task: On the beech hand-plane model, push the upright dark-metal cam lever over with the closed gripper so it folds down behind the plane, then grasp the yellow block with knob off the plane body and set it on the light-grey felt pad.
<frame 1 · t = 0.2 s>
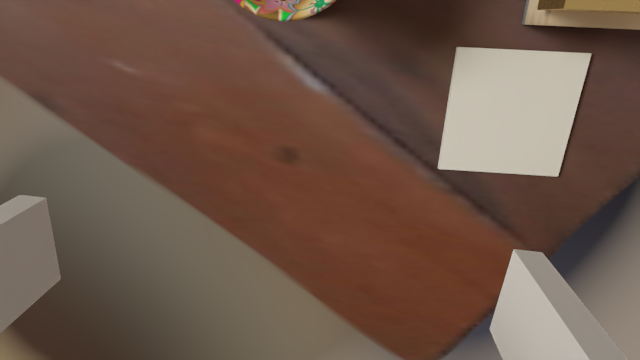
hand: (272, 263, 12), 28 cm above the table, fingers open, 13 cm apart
felt pad: (508, 113, 37), on the table
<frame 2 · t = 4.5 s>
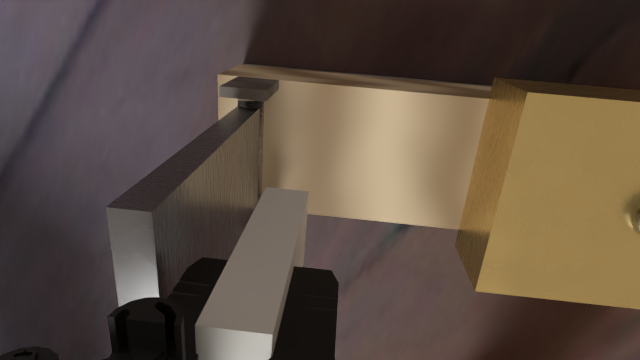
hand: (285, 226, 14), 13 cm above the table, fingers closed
plane body: (434, 138, 25), on the table
yellow block with knob: (574, 178, 20), point 5 cm above the table, touching plane body
lever: (216, 201, 15), point 12 cm above the table, hinge at 0.1°, touching gripper
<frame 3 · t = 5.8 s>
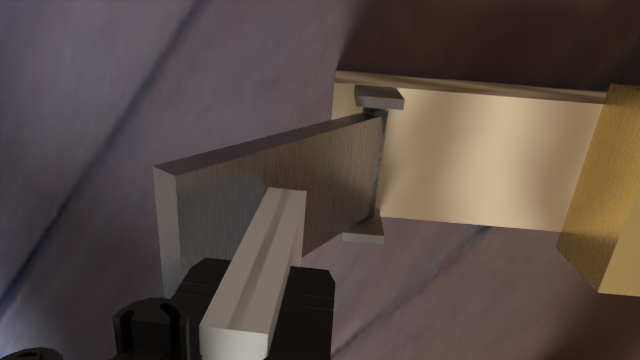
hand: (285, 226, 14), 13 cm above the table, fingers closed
plane body: (521, 142, 26), on the table
lever: (300, 194, 16), point 11 cm above the table, hinge at 34.5°, touching gripper
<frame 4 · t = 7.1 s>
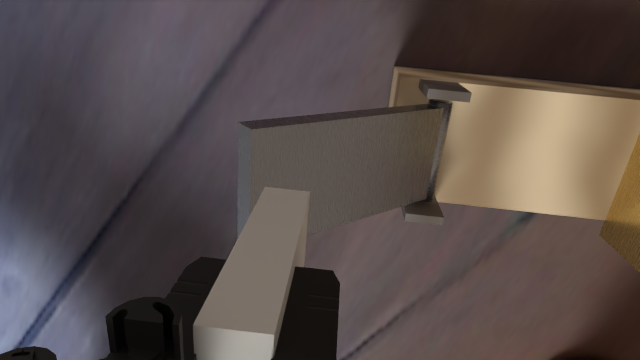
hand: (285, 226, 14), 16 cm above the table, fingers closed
plane body: (566, 136, 27), on the table
lever: (358, 166, 19), point 10 cm above the table, hinge at 48.2°
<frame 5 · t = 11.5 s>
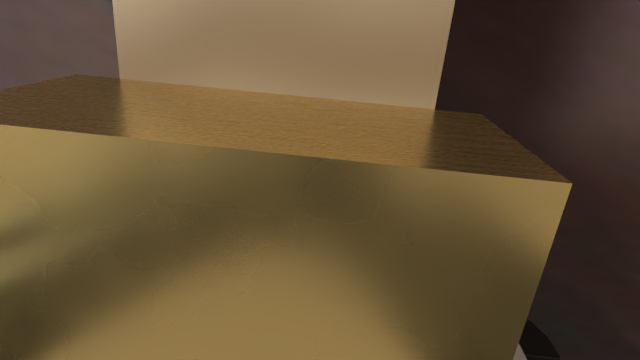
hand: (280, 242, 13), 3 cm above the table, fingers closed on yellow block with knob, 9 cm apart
plane body: (303, 36, 13), on the table
yellow block with knob: (266, 282, 11), point 5 cm above the table, touching gripper, plane body
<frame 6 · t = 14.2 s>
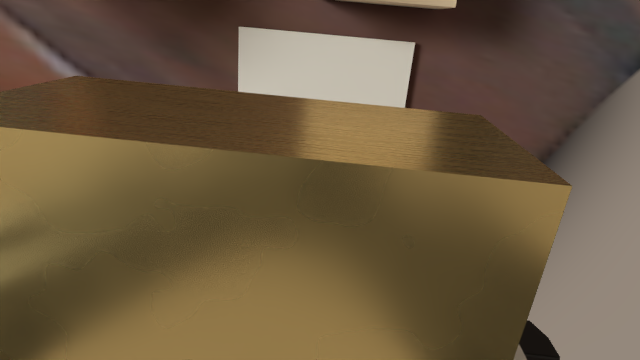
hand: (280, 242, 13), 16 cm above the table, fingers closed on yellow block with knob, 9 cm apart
yellow block with knob: (266, 283, 11), point 18 cm above the table, touching gripper
felt pad: (319, 119, 28), on the table
when the fingers open (1 cm above the table, at t = 17.2 s): yellow block with knob drops 3 cm, resting on felt pad.
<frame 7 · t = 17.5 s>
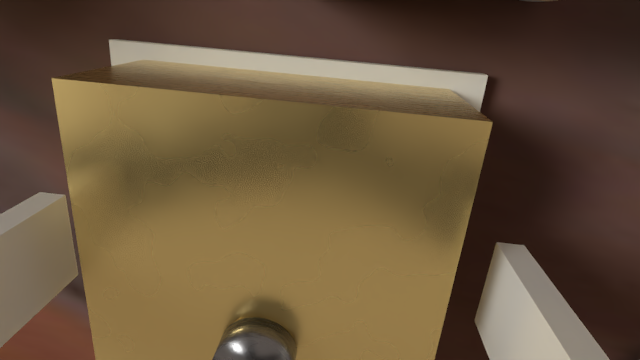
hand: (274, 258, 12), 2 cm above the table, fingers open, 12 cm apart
yellow block with knob: (285, 225, 14), resting on felt pad
felt pad: (287, 220, 14), on the table
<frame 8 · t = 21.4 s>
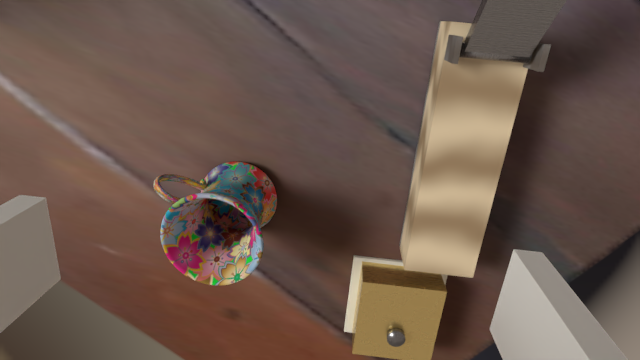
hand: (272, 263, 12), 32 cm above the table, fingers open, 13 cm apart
mug: (232, 186, 46), on the table
plane body: (451, 148, 42), on the table
yellow block with knob: (394, 300, 50), resting on felt pad
felt pad: (393, 299, 50), on the table
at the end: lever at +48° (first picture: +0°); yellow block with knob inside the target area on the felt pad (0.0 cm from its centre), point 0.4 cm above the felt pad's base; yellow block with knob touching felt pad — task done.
